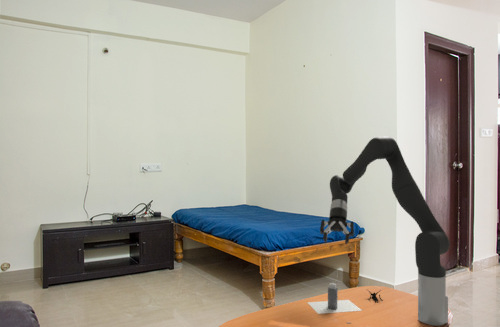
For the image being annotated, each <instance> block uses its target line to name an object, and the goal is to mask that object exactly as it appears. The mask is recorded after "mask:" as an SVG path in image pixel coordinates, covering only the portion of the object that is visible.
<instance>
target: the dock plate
mask: <svg viewBox="0 0 500 327" xmlns="http://www.w3.org/2000/svg"><path fill="white" fill-rule="evenodd" d="M307 304H308V305H309V306H310V307H311V309H313V310H314V311H315V313H317V314H318V315H320V314H323V315H324V314H334V313H335V314H336V313H348V312H350V313H351V312H362V311H363V309H361V308H359V307H358V306H357V305H356V304H355V303H353V302H352V301H351V300H350V299H341V300H340V299H338V307H337V309H336V310H331V309H328V300H326V301H325V300H324V301H310V302H307Z"/></svg>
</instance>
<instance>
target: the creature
mask: <svg viewBox="0 0 500 327" xmlns="http://www.w3.org/2000/svg"><path fill="white" fill-rule="evenodd" d="M366 291H368V293H369V294H370V295H369V298H368V299H367V300H368V301H369V300H371V299H372V300H373V301H374V303H379V300H380V301H382V302H383V301H384V300H383V299H382V298H381V294H379V295H378V293H380V292H381V291H382V289H380V290H379V291H377V292H373V293H372V292H371V291H369V290H368V289H366ZM377 295H378V297H379V299H378V297H377Z"/></svg>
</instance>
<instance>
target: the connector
mask: <svg viewBox="0 0 500 327" xmlns="http://www.w3.org/2000/svg"><path fill="white" fill-rule="evenodd" d="M338 289H339V288H338V287H337V283H334V282H332V283H330V282H329V286H328V287H327V301H328V309H331V310H336V309H337V307H338V300H339V299H338V298H339V297H338V296H339V295H338V293H339V292H338Z"/></svg>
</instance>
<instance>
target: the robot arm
mask: <svg viewBox="0 0 500 327" xmlns="http://www.w3.org/2000/svg"><path fill="white" fill-rule="evenodd" d="M384 159H385V161H386V162H387V164H388V166H389V167H390V170H391V188H392V192H393V195H394V196H395V198H396V200H397V202H398V204H399V205H400V207H401V208H402V209H403V210H404V211H405V212H406V213H407V214H408V215H409V216H410V217H411V218H412V219H413V220H414V221H415V223H416V224H417V225H418V227H419V230H420V231H421V232H420V233H419V234H417V236H416V237H415V243H414V248H415V249H414V250H415V252H414V253H415V265H416V267H417V320H418V321H419V322H421V323H423V324H426V325H429V326H435V327H436V326H444V325H445V324H449V297H448V296H447V295H446V294H447V293H446V292H447V291H446V289H447V286H446V283H447V282H446V278H447V277H446V275H447V272H446V271H447V270H446V268H445V266H443V265H442V264H441V255H445V254H446V253H447V252H448V251H449V250H450V245H451V244H450V243H451V242H450V239H449V236H448V234H446V231H444V229H443V227H442V226H441V225H440V223H439V221H438V220H437V219H436V217H435V215H434V214H433V212H432V210H431V209H430V207H429V205H428V203H427V202H426V199H425V198H424V196H423V193H422V192H421V190H420V187H419V186H418V184H417V183H416V182H417V181H415V179H414V177H413V176H412V173H411V172H410V169H409V168H408V166H407V164H406V162H405V159H404V157H403V154H402V152H401V149H400V147H399V145H398V143H397V141H396V140H395V139H394V138H393V137H392V136H377V137H373V138H371V139H370V140H369V141H368V142H367V143H366V145H365V146H364V148H363V149H362V151H361V152H360V154H359V155H358V157H356V158H355V161H353V162H352V163H351V164H350V165H349V166H347V168H346V169H344V171H343V172H342V176H341V175H338V174H336V175H333V176H332V177H331V178H330V180H329V190H330V193H331V202H330V203H331V204H330V206H329V208H330V209H329V216H328V217H329V218H328V220H327V221H326V220H324V219H322V220H321V222H320V228H319V234H320V235H323V237H322V238H323V242H324V243H328V242H327V241H328V234H331V232H338V233H341V232H342V233H343V234H344V235H345V238H344V242H345V245H348V244H349V242H350V237H354V236H355V234H354V233H355V231H354V230H355V229H354V228H355V227H354V226H355V225H354V221H350V222H348V221H347V220H348V219H347V218H348V197H349V196H348V194H349V193H350V192H351V191H352V189H353V187H354V185H355V184H356V182H357V181H359V180H360V179H361V178H362V177H363V176H364V175H365V173H366V171H367V169H368V166H369V165H370V164H371V163H373V162H375V161H376V160H384ZM326 226H327V227H326ZM325 227H326V228H325ZM347 227H348V228H349V229H350V231H349V230H348V229H347Z"/></svg>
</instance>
